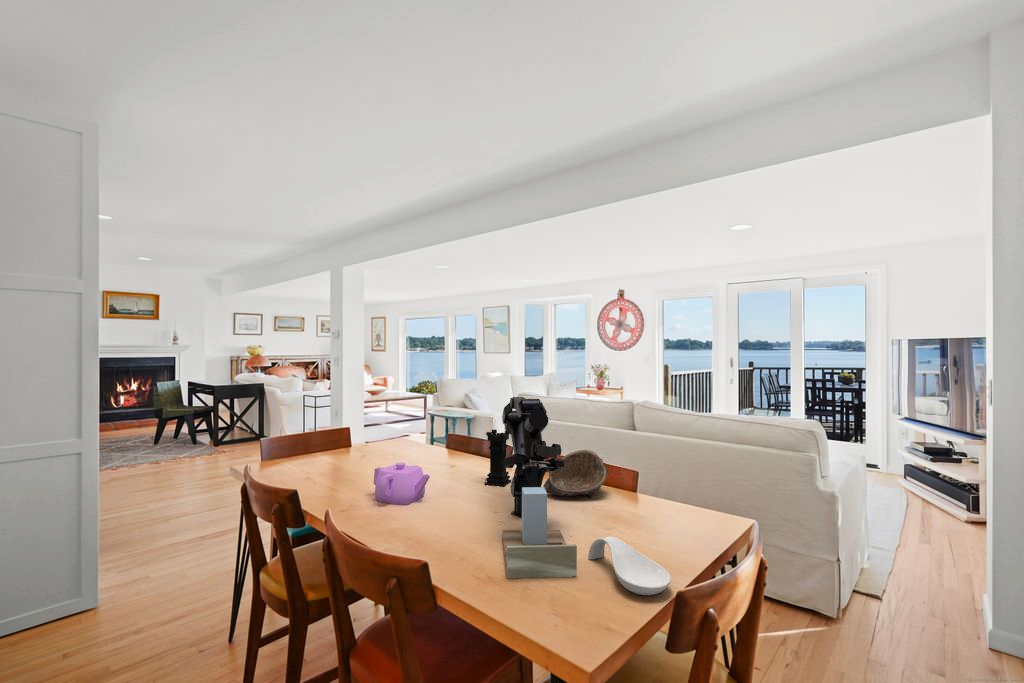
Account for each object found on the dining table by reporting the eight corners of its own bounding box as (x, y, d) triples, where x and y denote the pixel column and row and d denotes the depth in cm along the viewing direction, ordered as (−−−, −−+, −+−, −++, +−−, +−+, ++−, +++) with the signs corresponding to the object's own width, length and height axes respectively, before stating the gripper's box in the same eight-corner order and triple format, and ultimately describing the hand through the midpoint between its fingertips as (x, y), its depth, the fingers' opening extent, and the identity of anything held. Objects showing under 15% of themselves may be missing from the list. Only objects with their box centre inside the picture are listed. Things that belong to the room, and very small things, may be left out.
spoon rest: (682, 595, 107) (682, 562, 107) (639, 608, 102) (639, 573, 102) (612, 554, 128) (613, 526, 128) (574, 563, 123) (574, 533, 123)
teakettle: (371, 494, 177) (371, 460, 177) (418, 489, 184) (419, 455, 184) (379, 509, 161) (379, 471, 161) (430, 503, 168) (431, 466, 168)
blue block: (521, 535, 134) (521, 487, 134) (543, 535, 135) (544, 487, 135) (523, 544, 128) (523, 494, 128) (546, 544, 129) (547, 493, 129)
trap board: (502, 537, 138) (502, 512, 138) (559, 536, 139) (559, 511, 139) (507, 578, 114) (507, 547, 114) (576, 576, 115) (576, 546, 115)
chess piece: (511, 481, 195) (511, 430, 195) (504, 487, 187) (504, 433, 187) (492, 479, 197) (492, 429, 197) (484, 485, 190) (484, 432, 190)
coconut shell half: (552, 505, 167) (618, 480, 172) (534, 464, 176) (598, 441, 181) (550, 520, 179) (613, 496, 184) (534, 481, 188) (594, 459, 193)
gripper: (524, 428, 137) (529, 486, 130) (574, 435, 147) (581, 489, 140) (500, 438, 144) (504, 494, 137) (549, 444, 155) (554, 496, 148)
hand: (537, 493), depth 141 cm, fingers closed
